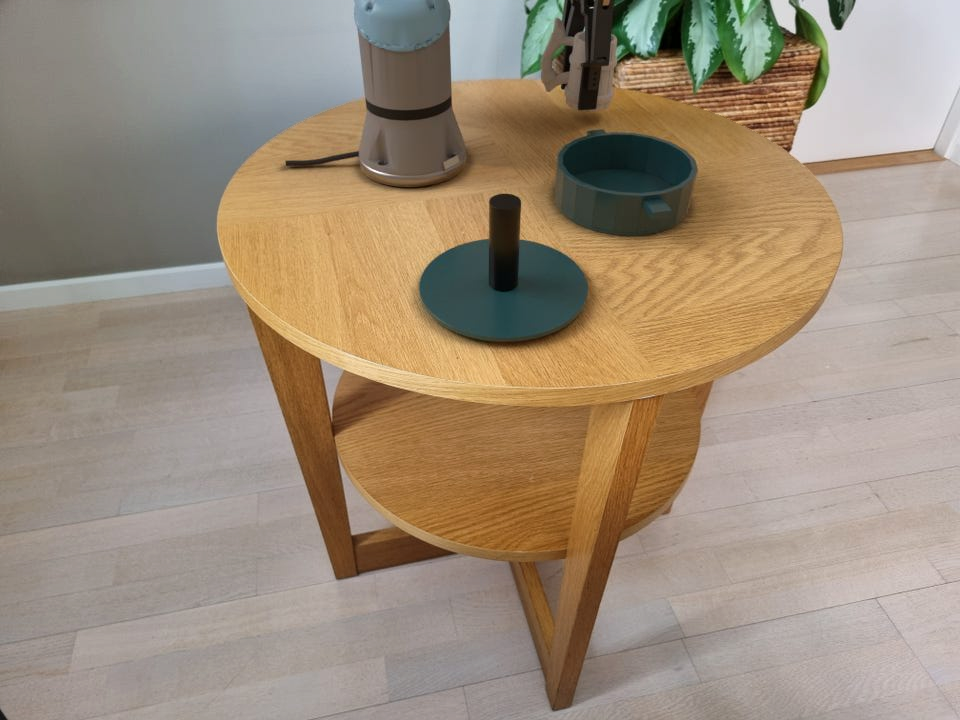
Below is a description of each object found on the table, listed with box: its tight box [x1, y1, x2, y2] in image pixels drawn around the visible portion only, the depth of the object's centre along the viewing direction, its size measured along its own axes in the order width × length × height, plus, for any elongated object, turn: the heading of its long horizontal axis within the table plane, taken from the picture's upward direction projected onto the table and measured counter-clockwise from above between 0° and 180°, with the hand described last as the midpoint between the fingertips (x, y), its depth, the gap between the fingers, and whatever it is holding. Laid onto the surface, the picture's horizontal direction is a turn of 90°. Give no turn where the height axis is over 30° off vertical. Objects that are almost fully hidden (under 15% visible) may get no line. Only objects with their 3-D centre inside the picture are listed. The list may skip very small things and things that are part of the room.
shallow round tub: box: [554, 128, 699, 237], centre depth 90 cm, size 17×23×6 cm
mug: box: [540, 17, 618, 113], centre depth 106 cm, size 8×12×12 cm, turn 78°
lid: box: [418, 193, 589, 343], centre depth 73 cm, size 18×18×11 cm
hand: (577, 98), depth 109 cm, fingers closed on mug, 8 cm apart
